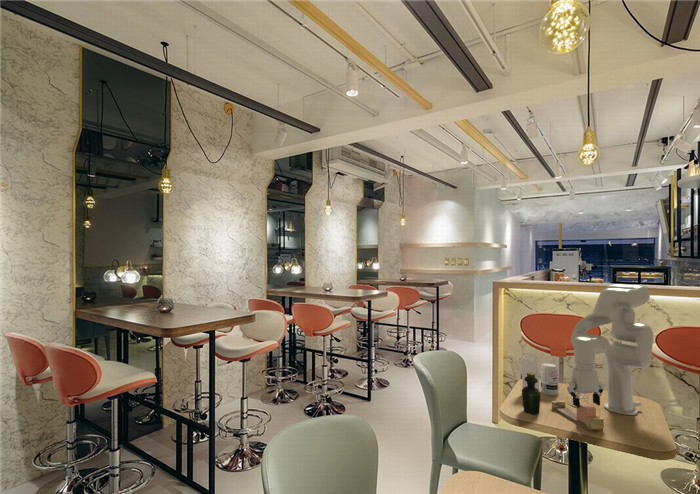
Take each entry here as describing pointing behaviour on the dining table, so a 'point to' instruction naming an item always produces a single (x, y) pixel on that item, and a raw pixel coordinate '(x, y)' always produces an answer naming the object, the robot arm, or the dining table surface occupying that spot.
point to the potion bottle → (531, 395)
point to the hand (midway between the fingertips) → (586, 405)
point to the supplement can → (549, 379)
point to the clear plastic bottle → (530, 367)
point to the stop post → (595, 422)
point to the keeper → (585, 412)
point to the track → (570, 414)
